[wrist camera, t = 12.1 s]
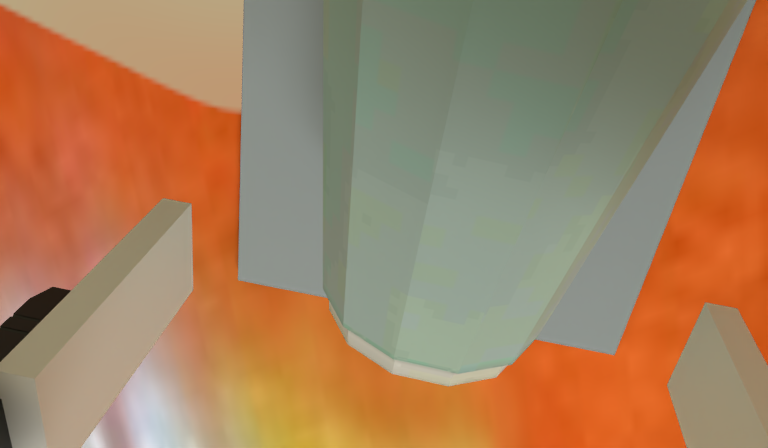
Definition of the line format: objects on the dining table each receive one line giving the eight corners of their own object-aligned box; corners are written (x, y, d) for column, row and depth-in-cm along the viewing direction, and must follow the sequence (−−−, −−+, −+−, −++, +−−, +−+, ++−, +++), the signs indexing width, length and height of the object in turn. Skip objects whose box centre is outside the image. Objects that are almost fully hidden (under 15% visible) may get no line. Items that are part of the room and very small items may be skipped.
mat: (858, -276, 17) (867, -280, 16) (612, 347, 27) (614, 354, 27) (257, -354, 18) (251, -360, 18) (241, 273, 28) (237, 280, 28)
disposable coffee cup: (266, 220, 24) (310, -280, 17) (535, 237, 27) (680, -197, 19) (264, 454, 15) (356, -386, 8) (670, 450, 18) (1040, -206, 10)
